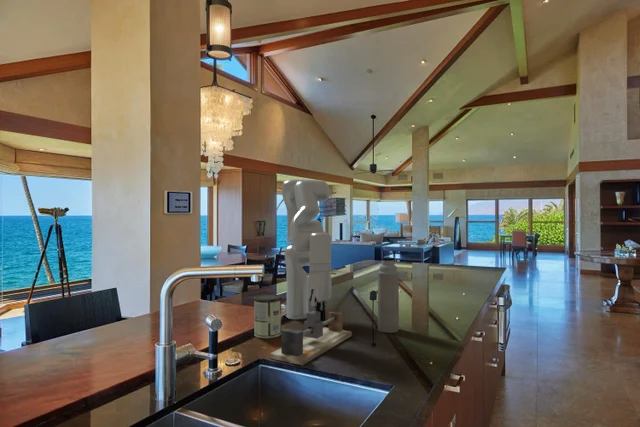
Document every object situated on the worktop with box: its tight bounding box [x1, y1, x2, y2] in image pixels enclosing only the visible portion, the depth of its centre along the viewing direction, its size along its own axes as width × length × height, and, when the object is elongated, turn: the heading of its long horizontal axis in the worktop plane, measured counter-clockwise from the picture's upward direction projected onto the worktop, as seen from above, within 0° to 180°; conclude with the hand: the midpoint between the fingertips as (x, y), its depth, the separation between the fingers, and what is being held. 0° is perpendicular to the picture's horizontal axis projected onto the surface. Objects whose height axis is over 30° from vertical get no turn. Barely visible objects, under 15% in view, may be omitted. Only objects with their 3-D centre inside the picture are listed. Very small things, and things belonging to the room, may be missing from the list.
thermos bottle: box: [377, 256, 400, 334], centre depth 156 cm, size 8×8×28 cm
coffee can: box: [253, 293, 283, 339], centre depth 150 cm, size 10×10×14 cm
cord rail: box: [269, 311, 353, 366], centre depth 136 cm, size 12×34×8 cm, turn 150°
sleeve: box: [303, 310, 324, 339], centre depth 136 cm, size 5×4×8 cm
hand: (320, 320), depth 140 cm, fingers closed
